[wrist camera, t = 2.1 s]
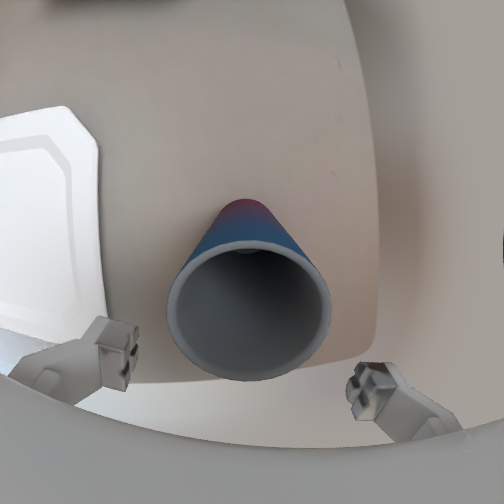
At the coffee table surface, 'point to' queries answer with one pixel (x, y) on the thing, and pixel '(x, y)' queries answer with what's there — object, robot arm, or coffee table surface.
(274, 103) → the coffee table surface
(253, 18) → the coffee table surface
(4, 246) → the plate
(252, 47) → the coffee table surface
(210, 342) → the cup
